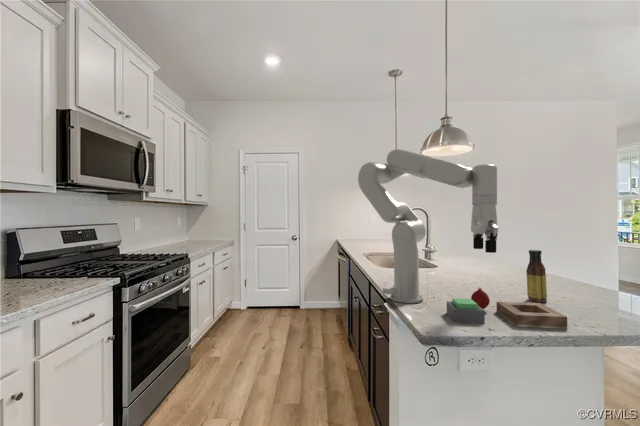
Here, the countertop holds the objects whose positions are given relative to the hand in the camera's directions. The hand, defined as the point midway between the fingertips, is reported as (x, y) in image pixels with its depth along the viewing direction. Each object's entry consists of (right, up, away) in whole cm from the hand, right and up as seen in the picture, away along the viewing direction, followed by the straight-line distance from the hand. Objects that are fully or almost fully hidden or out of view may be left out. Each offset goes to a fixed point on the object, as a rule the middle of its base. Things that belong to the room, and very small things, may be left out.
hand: (484, 250), depth 105 cm
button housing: (-9, -22, -5) cm, 24 cm away
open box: (+11, -22, -6) cm, 25 cm away
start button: (-9, -19, -5) cm, 22 cm away
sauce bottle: (+28, -22, +14) cm, 38 cm away
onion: (0, -22, +3) cm, 22 cm away
